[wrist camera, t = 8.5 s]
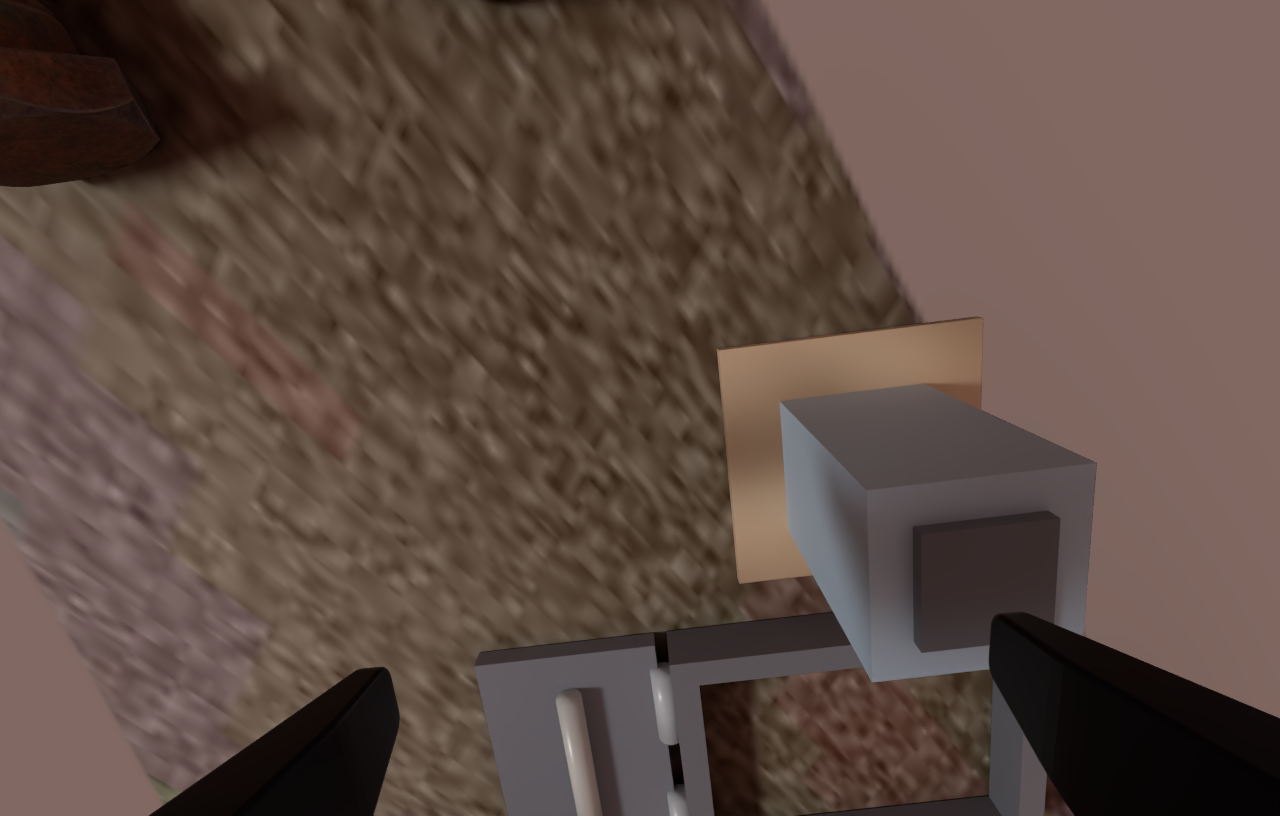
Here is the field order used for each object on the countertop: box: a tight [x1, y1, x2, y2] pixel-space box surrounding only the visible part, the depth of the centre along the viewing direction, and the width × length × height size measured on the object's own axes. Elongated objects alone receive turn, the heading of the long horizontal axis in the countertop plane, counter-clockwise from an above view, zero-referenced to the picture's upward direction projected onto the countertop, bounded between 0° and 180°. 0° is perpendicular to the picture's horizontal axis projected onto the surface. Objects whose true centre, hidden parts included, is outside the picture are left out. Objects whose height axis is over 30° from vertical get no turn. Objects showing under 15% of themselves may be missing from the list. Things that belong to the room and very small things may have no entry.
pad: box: [717, 317, 983, 584], centre depth 22 cm, size 9×9×1 cm
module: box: [780, 383, 1097, 682], centre depth 17 cm, size 5×5×8 cm
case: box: [474, 612, 1047, 816], centre depth 24 cm, size 11×22×2 cm, turn 97°
